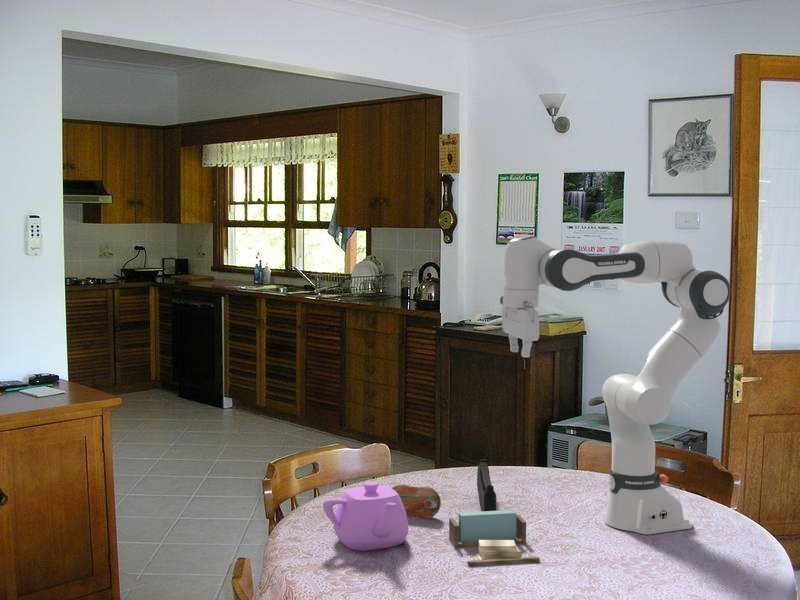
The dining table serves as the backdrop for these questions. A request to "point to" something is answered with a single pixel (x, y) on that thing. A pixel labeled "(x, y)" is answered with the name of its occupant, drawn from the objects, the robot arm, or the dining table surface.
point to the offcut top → (497, 546)
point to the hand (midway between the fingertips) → (519, 354)
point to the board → (487, 525)
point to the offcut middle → (500, 554)
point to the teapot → (368, 517)
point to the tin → (419, 500)
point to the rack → (455, 542)
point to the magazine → (485, 488)
